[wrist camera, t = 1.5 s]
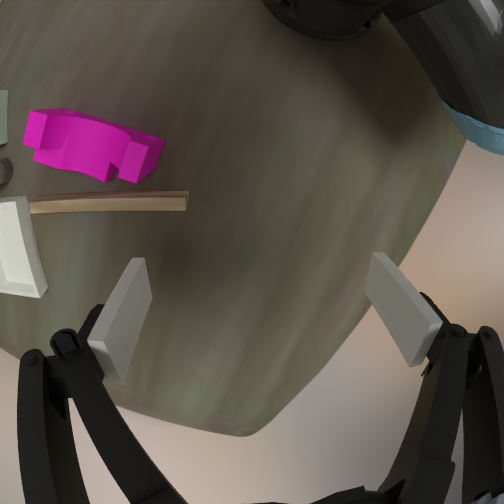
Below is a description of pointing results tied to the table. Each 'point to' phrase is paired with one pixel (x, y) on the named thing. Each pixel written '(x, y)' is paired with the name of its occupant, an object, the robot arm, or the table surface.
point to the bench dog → (5, 170)
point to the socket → (3, 116)
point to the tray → (19, 250)
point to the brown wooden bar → (112, 201)
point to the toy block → (91, 145)
